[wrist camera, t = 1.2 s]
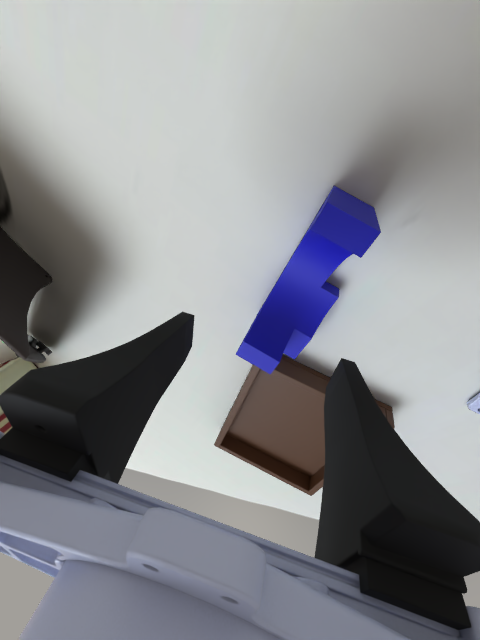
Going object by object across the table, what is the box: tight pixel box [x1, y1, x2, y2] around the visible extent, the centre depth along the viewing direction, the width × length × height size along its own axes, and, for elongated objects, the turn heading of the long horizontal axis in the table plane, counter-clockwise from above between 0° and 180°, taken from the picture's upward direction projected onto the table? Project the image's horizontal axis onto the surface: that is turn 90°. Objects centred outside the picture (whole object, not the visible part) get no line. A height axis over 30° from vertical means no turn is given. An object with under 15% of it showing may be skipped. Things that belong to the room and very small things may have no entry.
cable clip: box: [236, 186, 381, 374], centre depth 20 cm, size 12×4×6 cm, turn 156°
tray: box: [214, 355, 395, 496], centre depth 31 cm, size 13×16×2 cm
